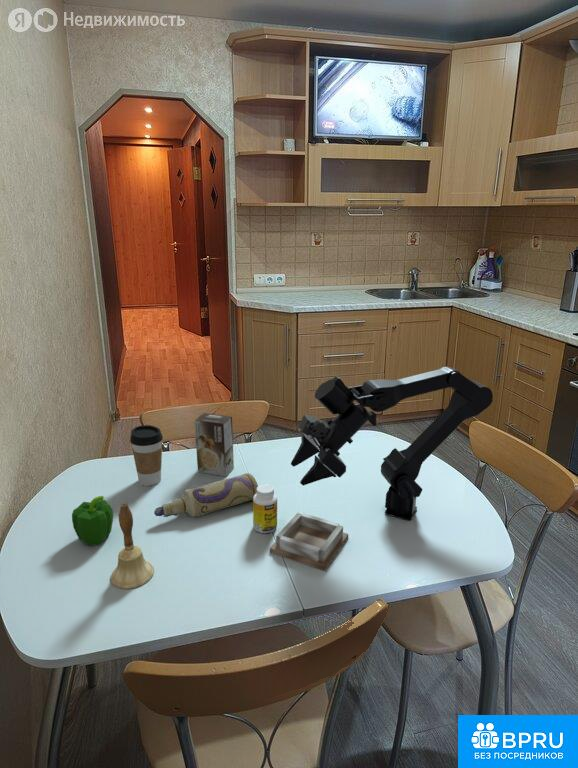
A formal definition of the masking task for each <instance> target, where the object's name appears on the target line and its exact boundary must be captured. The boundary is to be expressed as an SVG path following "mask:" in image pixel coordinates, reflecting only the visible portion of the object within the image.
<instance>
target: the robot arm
mask: <svg viewBox="0 0 578 768" xmlns="http://www.w3.org/2000/svg"><path fill="white" fill-rule="evenodd" d="M448 388H450V389H451V390H453V392H452V394H451V396H450V400H449V404H448V405H447V406H446V408H444V410H443V411H442V412H441V413H440V414H438V416H437V417H436V418H435V419H434V420H433V421H432V422H431V423H430V424H429V425H428V426H427V427H426V428H425V429H424V430H423V431H422V432H421V434H419V436H417V437H416V439H415V440H413V441H412V442H411V444H410V445H409V446H408V447H406V448H405V449H402V450H400V451H399V450H398V449H397V448H396V447H395V448H393V449H392V450H391V451H390V453H389V454H388V455H387V456H386V457H383V458H382V460H383V462H381V464H380V473H381V475H382V477H383V478H384V479H385V480H386V482H387V483H388V484H389V485H390V486H389V488H388V490H386V493H385V503H384V504H385V505H384V507H385V508H386V509H385V511H384V514H385V515H389V516H391V517H395V518H400V519H402V520H407V521H411V520H412V519H413V517H414V515H415V514H416V512H417V509H418V507H417V504H416V503H417V502H416V501H417V498H420V497H421V494H422V492H423V488H422V486H421V485H419V483H417V482H416V480H417V478H418V477H419V474H420V472H421V468H422V464H423V463H424V462H425V461H426V460H427V459H428V458H429V457H430V456H431V455H432V454H433V453H434V452H435V451H436V450H437V449H438V448H439V447H440V446H441V445H442V444H443V442H444V441H446V440H447V439H448V438H449V437H450V436H451V434H453V432H454V431H455V430H456V429H458V427H460V425H461V424H462V423H463V422H464V421H465V420H468V419H471V418H474V417H477V416H479V415H480V414H482V412H484V411H485V410H487V409H488V408H489V407H491V405H492V403H493V401H494V399H493V398H494V396H493V391H492V390H491V388H490V387H487V386H486V385H483V384H482V383H480V382H478V381H476V380H473V379H469V378H468V377H465V376H464V375H463V374H462V373H461V372H460V371H459V370H457V369H455V368H453V367H451V366H443V367H441V368H438V369H435V370H432V371H427V372H423V373H419V374H413V375H411V376H407V377H403V378H400V379H399V378H398V379H385V378H381V379H368V380H366V381H365V382H363V383H362V384H360V385H355V386H350V387H348V386H347V385H346V384H345V383H344V381H343V380H342V379H341V378H340V377H339V376H338V375H335V376H334V377H333V378H332V379H328V380H327V381H325V382H322V383H321V384H320V385H319V386H318V388H317V389H316V390H315V393H314V398H315V399H316V400H317V401H318V402H319V403H320V404H321V405H322V406H323V407H324V408H325V409H326V410H328V412H330V413H331V414H332V415H337V416H336V417H334V418H333V419H332V417H329V418H327V419H326V420H325V421H323V420H321V419H320V418H317V417H315V416H312V415H309V414H307V413H304V414H303V416H302V418H301V420H300V422H299V423H298V428H300V431H301V432H300V436H301V437H300V439H301V443H300V445H299V447H298V449H297V451H296V453H295V455H294V457H293V458H292V460H291V462H290V465H291V466H292V467H296V466H298V465H300V464H302V463H304V462H305V461H307V460H308V459H310V458H311V457H313V456H314V463H313V465H312V466H311V467H310V468H309V470H308V471H307V472H306V473H305V475H304V476H303V477H302V478H301V480H300V482H299V484H301V485H302V486H307V485H309V484H312V483H315V482H317V481H318V482H319V481H322V480H324V479H328V478H337V477H338V478H339V479H340V478H341V477H343V475H344V474H345V473H347V465H346V464H345V462H344V460H343V459H342V458H340V457H339V456H340V455H341V453H340V451H339V450H341V448H342V447H343V446H345V444H347V443H348V444H349V445H351V444H352V443H353V442H354V440H353V437H354V435H356V433H358V431H360V430H361V429H362V428H363V427H364V425H366V424H367V423H368V422H369V423H370V424H371V425H372V426H373V427H377V413H381V412H385V411H387V410H389V409H391V408H393V407H395V406H397V405H398V404H399V403H400V402H402V401H403V400H407V399H410V398H413V397H416V396H421V395H425V394H429V393H432V392H437V391H439V390H444V389H448ZM354 401H356V402H357V404H356V403H354ZM367 408H369V409H370V410H372V411H369V410H368V409H367ZM316 454H317V455H316Z"/></svg>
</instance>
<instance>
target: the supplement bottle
mask: <svg viewBox="0 0 578 768" xmlns="http://www.w3.org/2000/svg"><path fill="white" fill-rule="evenodd" d="M252 507H253V508H252V514H253V515H252V519H253V520H252V522H253V523H252V525H253V529H254V530H255V531H256V532H258V533H261V534H268V533H270V534H271V533H272V532H274V531H275V530H276V529H277V527H278V496H277V494H276V493H275V488H274V486H273V485H271V484H266V483H265V484H260V485H258V487H257V492H256V494H255V495H254V497H253V500H252Z"/></svg>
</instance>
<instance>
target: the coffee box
mask: <svg viewBox="0 0 578 768" xmlns="http://www.w3.org/2000/svg"><path fill="white" fill-rule="evenodd" d="M194 428H195V429H194V431H195V432H194V433H195V446H196V449H195V450H196V464H197V472H198V473H202V474H206V475H214V476H220V477H227V476H228V475H229V474H231V472H232V471H233V469H235V465H234V464H235V462H234V441H233V440H234V437H233V436H234V435H233V416H231V415H224V414H216V413H208V412H207V413H206V412H203V413H202V414H200V415H199V416H198V417H197V418H196V419H195V420H194Z"/></svg>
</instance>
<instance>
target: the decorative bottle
mask: <svg viewBox="0 0 578 768" xmlns="http://www.w3.org/2000/svg"><path fill="white" fill-rule="evenodd" d="M258 486H259V484H258V482H257V480H256V478H255V476H253V474H251V473H250V472H246V473H243V474H241V475H240V474H239V475H235V476H233V477H229V478H225V479H222V480H217V481H214V482H210V483H205V484H202V485H199V486H194V487H192V488H188V489H185V491H184V492H183V495H182V497H181V498H176V499H174V500H172V501H171V502H169V503H164V504H162V505H161V506H158V507H156V508H155V509H154V513H153V514H154V516H155V517H163V518H168V517H172V516H174V517H175V516H176V517H177V516H179V515H183V514H188V515H189V516H190V517H193V518H196V517H198V516H202V515H206V514H211V513H213V512H217V511H219V510H222V509H223V510H224V509H226V508H229V507H232V506H236V505H240V504H244V503H246V502H250V501H253V497H254V495H255V494H256V492H257V487H258Z"/></svg>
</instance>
